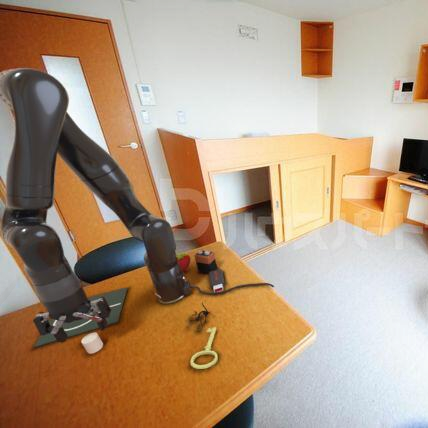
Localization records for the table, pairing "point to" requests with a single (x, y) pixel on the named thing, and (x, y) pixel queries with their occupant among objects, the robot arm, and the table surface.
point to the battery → (205, 261)
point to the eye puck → (92, 343)
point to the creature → (199, 317)
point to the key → (206, 352)
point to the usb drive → (216, 280)
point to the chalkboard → (84, 325)
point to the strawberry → (183, 261)
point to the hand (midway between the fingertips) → (84, 333)
